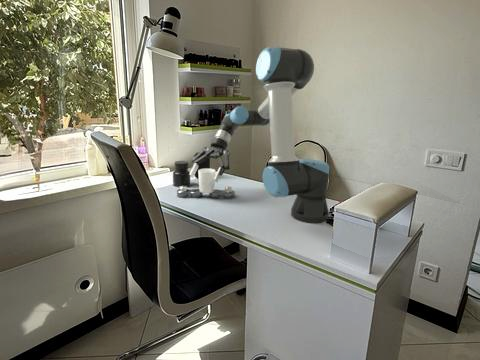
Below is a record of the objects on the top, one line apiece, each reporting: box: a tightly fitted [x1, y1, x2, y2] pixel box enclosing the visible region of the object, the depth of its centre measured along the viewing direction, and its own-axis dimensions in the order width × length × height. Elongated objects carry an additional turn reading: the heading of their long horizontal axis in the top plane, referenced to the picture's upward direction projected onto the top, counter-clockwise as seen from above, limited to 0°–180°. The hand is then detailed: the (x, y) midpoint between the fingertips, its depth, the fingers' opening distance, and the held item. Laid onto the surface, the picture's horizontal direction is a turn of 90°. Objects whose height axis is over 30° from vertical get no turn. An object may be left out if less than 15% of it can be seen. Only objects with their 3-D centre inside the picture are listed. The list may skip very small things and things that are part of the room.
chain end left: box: [176, 186, 204, 199], centre depth 150 cm, size 6×12×4 cm, turn 91°
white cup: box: [198, 168, 216, 194], centre depth 149 cm, size 8×8×10 cm
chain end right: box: [208, 186, 236, 200], centre depth 150 cm, size 6×12×4 cm, turn 91°
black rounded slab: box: [193, 151, 211, 179], centre depth 179 cm, size 11×3×15 cm, turn 127°
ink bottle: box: [172, 160, 191, 188], centre depth 166 cm, size 10×9×12 cm
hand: (203, 178), depth 146 cm, fingers open, 13 cm apart
